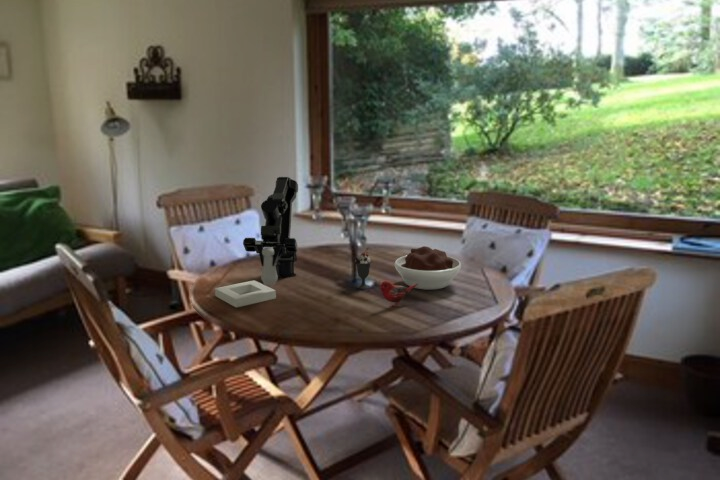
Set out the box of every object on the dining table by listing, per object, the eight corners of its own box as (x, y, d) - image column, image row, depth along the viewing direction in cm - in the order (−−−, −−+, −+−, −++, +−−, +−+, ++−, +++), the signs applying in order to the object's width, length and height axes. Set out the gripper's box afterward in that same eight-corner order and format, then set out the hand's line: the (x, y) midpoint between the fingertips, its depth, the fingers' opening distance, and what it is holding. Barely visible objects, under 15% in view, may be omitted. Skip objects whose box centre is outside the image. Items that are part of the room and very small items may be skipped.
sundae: (374, 285, 248) (374, 247, 245) (368, 290, 242) (368, 251, 239) (358, 283, 250) (358, 246, 247) (352, 288, 244) (352, 250, 241)
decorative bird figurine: (376, 309, 222) (376, 281, 219) (415, 299, 232) (415, 272, 230) (382, 311, 220) (382, 283, 217) (420, 301, 230) (421, 274, 228)
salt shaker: (271, 287, 226) (269, 251, 223) (258, 285, 229) (256, 249, 226) (281, 282, 231) (279, 247, 228) (268, 280, 234) (266, 245, 231)
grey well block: (254, 287, 246) (254, 280, 245) (276, 298, 233) (275, 290, 233) (215, 296, 236) (215, 288, 236) (235, 307, 224) (235, 299, 223)
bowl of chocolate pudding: (473, 285, 248) (474, 247, 244) (433, 301, 230) (434, 260, 227) (421, 273, 265) (422, 237, 261) (381, 286, 247) (381, 248, 243)
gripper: (242, 215, 229) (236, 254, 221) (295, 216, 227) (290, 254, 219) (249, 232, 238) (243, 269, 230) (299, 232, 237) (295, 270, 229)
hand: (267, 265), depth 227 cm, fingers closed on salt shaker, 3 cm apart
